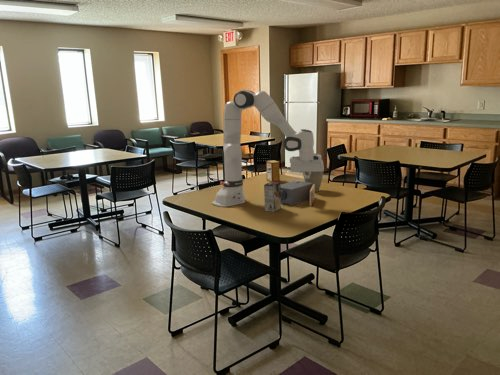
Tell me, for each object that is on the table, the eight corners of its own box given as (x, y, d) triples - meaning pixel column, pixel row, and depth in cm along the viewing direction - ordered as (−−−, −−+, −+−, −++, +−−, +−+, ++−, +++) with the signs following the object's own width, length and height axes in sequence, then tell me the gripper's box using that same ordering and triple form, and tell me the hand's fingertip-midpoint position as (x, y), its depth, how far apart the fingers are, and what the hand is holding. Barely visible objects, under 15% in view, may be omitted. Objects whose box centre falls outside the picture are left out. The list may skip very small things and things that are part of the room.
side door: (312, 205, 247) (312, 191, 245) (309, 205, 248) (309, 191, 245) (316, 197, 265) (316, 184, 263) (313, 197, 266) (313, 183, 264)
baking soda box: (279, 181, 318) (279, 161, 314) (272, 182, 315) (271, 162, 312) (273, 179, 326) (273, 159, 323) (266, 180, 324) (266, 160, 320)
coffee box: (272, 206, 249) (271, 181, 246) (281, 208, 246) (280, 182, 242) (264, 210, 242) (263, 184, 238) (274, 212, 239) (273, 185, 235)
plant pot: (310, 187, 296) (310, 165, 292) (328, 190, 286) (328, 167, 282) (298, 191, 286) (297, 168, 282) (315, 194, 275) (315, 171, 272)
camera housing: (289, 205, 250) (289, 188, 248) (272, 202, 260) (272, 185, 257) (313, 197, 266) (313, 181, 264) (296, 194, 276) (296, 179, 274)
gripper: (288, 157, 246) (289, 179, 249) (322, 157, 241) (323, 179, 244) (290, 155, 252) (291, 177, 255) (323, 155, 246) (324, 177, 250)
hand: (307, 178), depth 249 cm, fingers closed
